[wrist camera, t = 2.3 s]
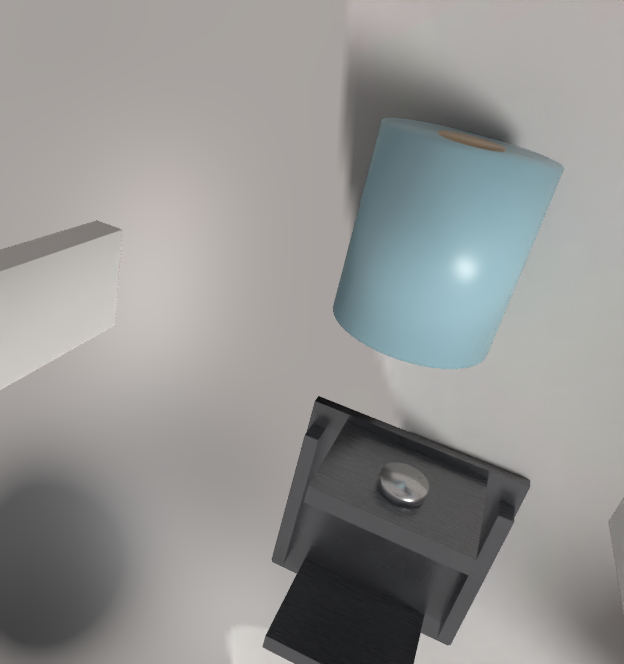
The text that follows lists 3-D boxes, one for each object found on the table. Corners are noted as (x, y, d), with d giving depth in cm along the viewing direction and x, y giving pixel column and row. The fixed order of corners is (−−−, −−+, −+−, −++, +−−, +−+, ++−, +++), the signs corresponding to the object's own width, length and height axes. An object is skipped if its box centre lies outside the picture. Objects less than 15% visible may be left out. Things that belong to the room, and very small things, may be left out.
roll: (407, 112, 26) (358, 118, 20) (566, 156, 24) (563, 177, 18) (361, 279, 30) (307, 326, 24) (495, 327, 28) (474, 392, 22)
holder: (318, 394, 33) (271, 459, 27) (530, 478, 30) (527, 570, 25) (275, 556, 39) (229, 637, 33) (449, 638, 36) (431, 742, 31)
